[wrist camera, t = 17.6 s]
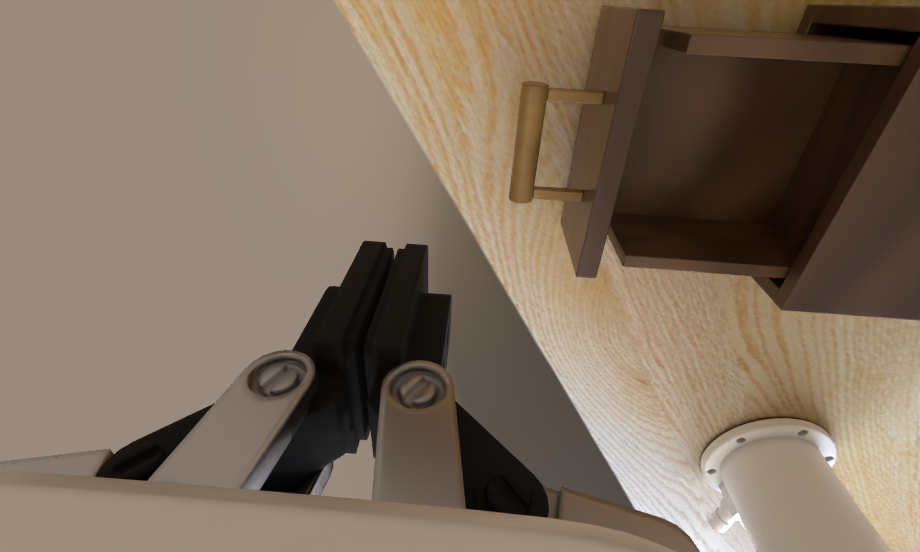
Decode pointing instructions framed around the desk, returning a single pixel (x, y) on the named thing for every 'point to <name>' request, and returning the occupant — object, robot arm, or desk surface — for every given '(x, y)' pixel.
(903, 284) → the cabinet
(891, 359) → the desk surface
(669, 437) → the desk surface
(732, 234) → the drawer
